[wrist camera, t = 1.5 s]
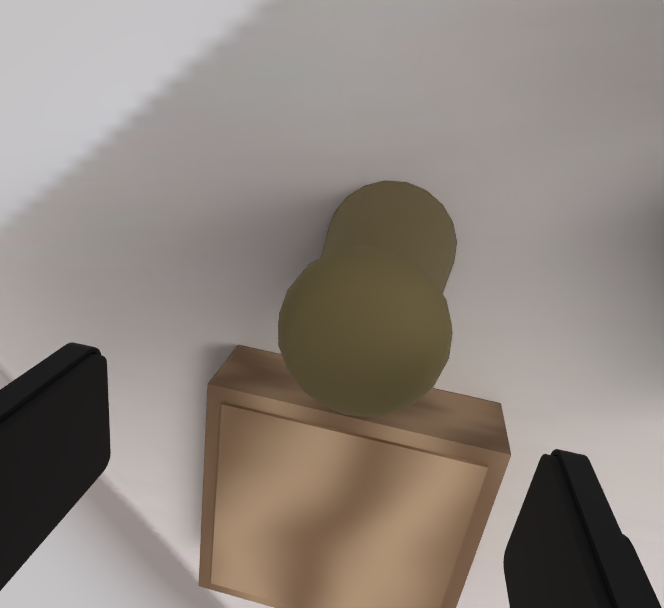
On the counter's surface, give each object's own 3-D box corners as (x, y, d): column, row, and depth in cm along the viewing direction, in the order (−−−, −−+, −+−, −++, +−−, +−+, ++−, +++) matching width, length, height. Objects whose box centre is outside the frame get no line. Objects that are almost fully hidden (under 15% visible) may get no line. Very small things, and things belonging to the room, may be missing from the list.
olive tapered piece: (319, 186, 23) (230, 259, 13) (454, 174, 22) (467, 245, 12) (334, 307, 26) (267, 448, 16) (458, 303, 24) (472, 453, 14)
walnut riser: (500, 403, 26) (511, 457, 22) (439, 589, 32) (439, 657, 28) (238, 345, 27) (206, 386, 24) (224, 531, 33) (197, 588, 29)
